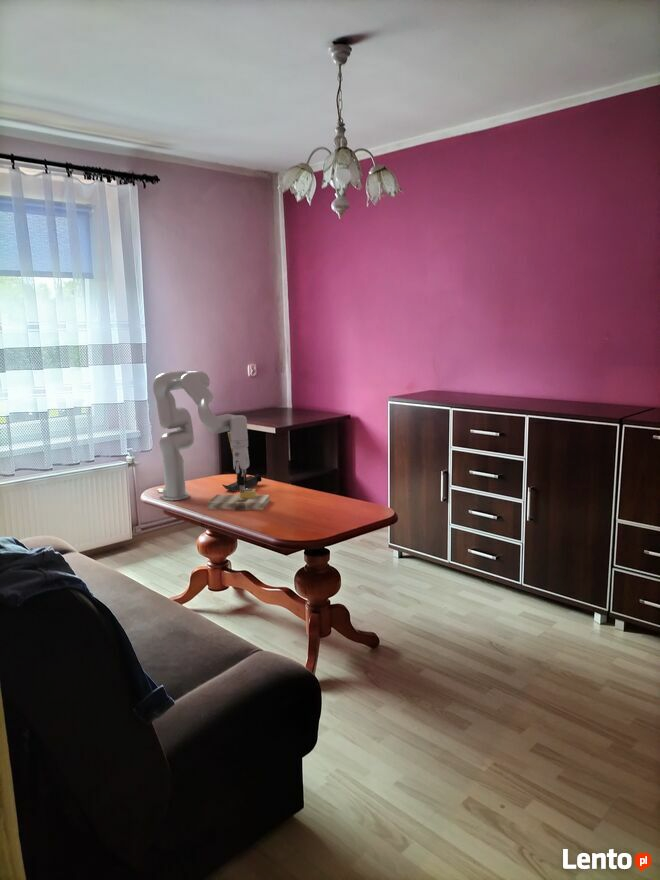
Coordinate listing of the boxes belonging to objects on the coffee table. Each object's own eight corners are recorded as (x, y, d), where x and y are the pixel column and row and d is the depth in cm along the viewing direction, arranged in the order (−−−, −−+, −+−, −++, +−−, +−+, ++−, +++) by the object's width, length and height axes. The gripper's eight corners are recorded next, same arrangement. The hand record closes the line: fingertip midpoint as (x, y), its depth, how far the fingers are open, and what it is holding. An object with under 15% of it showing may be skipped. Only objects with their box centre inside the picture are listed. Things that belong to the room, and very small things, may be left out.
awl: (238, 492, 286) (236, 466, 283) (240, 491, 288) (238, 464, 286) (244, 492, 285) (243, 466, 283) (246, 491, 288) (245, 464, 286)
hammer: (229, 497, 314) (216, 439, 306) (224, 495, 318) (210, 438, 309) (262, 482, 327) (250, 426, 318) (256, 480, 330) (244, 425, 322)
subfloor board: (206, 510, 285) (206, 503, 284) (218, 499, 301) (217, 493, 301) (261, 510, 281) (261, 504, 281) (270, 500, 298) (270, 494, 298)
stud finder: (240, 498, 292) (240, 491, 291) (243, 495, 297) (242, 488, 296) (253, 498, 291) (252, 491, 290) (255, 495, 296) (255, 488, 295)
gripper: (243, 446, 275) (245, 488, 278) (252, 440, 291) (254, 479, 294) (225, 447, 276) (228, 488, 279) (236, 440, 291) (238, 479, 295)
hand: (242, 483), depth 286 cm, fingers closed on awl, 3 cm apart
